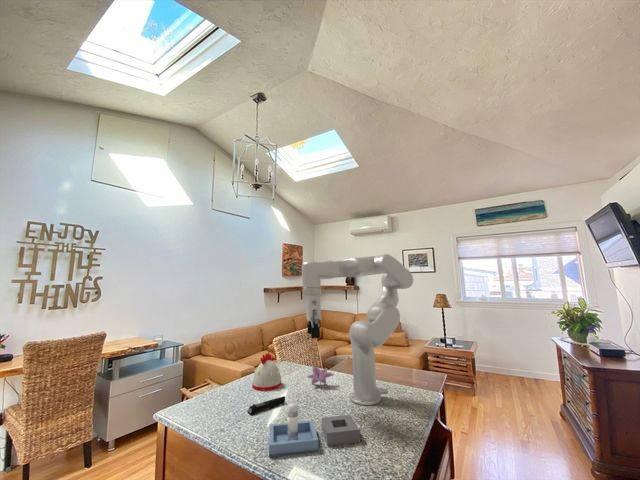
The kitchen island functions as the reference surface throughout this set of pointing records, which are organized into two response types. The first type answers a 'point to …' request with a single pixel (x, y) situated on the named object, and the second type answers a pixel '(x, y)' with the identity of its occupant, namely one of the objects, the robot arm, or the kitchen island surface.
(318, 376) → the lily
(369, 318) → the robot arm
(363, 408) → the kitchen island surface
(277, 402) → the electric trimmer
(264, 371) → the knit hat
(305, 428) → the parts tray
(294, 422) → the white rounded cylinder piece
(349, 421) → the gray square hole block
